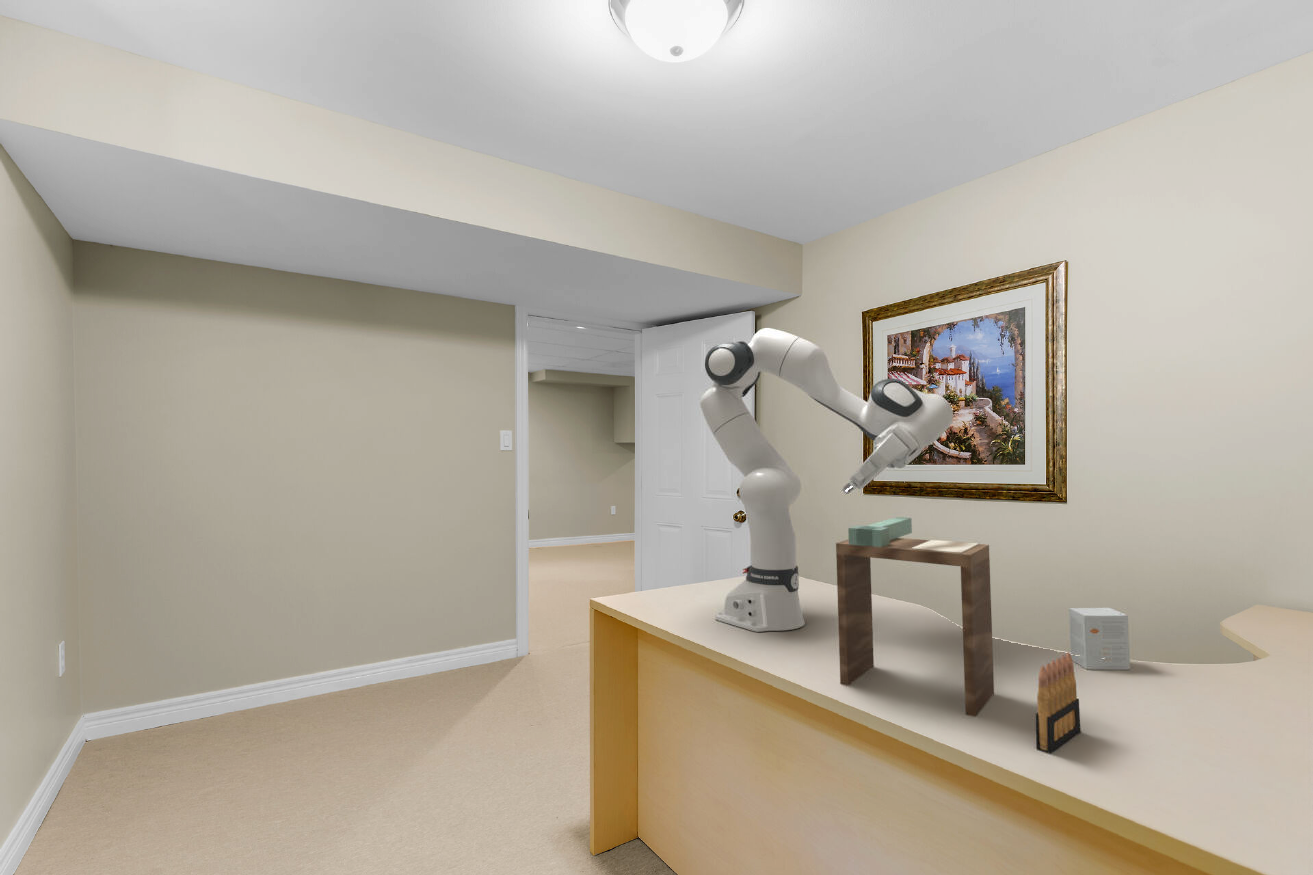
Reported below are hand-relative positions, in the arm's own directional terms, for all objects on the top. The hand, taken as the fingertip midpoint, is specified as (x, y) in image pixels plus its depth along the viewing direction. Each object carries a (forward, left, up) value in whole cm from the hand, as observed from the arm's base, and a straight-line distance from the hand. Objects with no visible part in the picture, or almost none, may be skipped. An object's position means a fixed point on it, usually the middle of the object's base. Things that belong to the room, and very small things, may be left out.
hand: (850, 485), depth 136 cm
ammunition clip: (+41, -23, -35) cm, 59 cm away
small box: (+42, +17, -35) cm, 58 cm away
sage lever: (+12, -12, -9) cm, 19 cm away
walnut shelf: (+18, -16, -35) cm, 42 cm away
